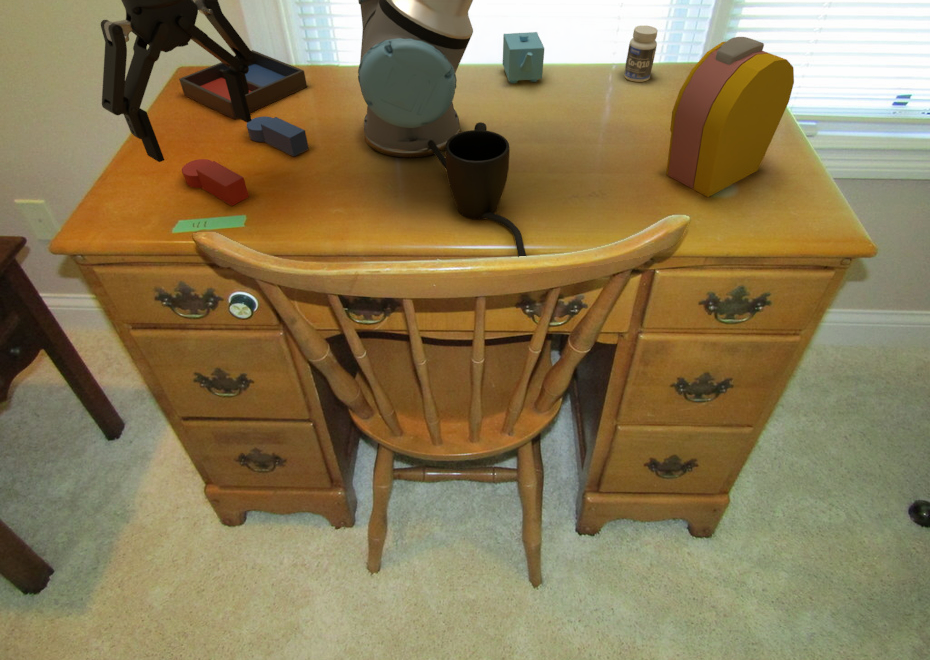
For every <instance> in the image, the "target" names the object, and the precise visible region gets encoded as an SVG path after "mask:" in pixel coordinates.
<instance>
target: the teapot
mask: <svg viewBox="0 0 930 660" xmlns="http://www.w3.org/2000/svg"><path fill="white" fill-rule="evenodd" d="M502 36H503V39H502V40H503V41H502V44H503V45H502V67H503V69H504V73H505V75H506V78H507V80H508V83H510V84H517V83H518V81H529V82H531V83H536V82H538V80H542V79H543V72H544V58H545V57H544V56H545V46H544V44H543V42H542V39H541V38H540V36H539V33H538V32H537V31H531V32H513V33H512V32H511V33H503V35H502Z"/></svg>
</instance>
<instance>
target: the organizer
mask: <svg viewBox="0 0 930 660" xmlns="http://www.w3.org/2000/svg"><path fill="white" fill-rule="evenodd" d="M251 52H252V53H253V54H254V56H255V61H254V62H253V63H249V64H248V65H247V66H248V67H249V71H248V73H247V74H245V76H246V80H247V84H248V88H249V93H248V94H246V95H245V96H246V100H247V104H248V108H249V112H250V114H251V113H253V112H255V111H257V110H260V109H262V108H264V107H266V106H269V105H270V104H272V103H274V102H277V101H279V100H281V99H284V98H286V97H288V96H290V95H292V94H295V93H296V92H299V91H301V90H303V89H306V88H308V84H307V78H306V74H305V70H304V69H301V68H299V67H296V66H293V65H291V64H290V63H289V64H288V63H287V62H283V61H281V60H279V59H276V58H275V57H271V56H269V55H265V54H264V53H261V52H259V51H257V50H254V49H252V50H251ZM226 69H229V70H230V68H229V67H228V66H226V65H225V64H224V63H222V62H221V61H220V62H219V63H216V64H213V65H211V66H208V67H206V68H203V69H200V70H198V71H195V72H194V73H190V74H188V75H185V76H183V77H180V78H178V81H179V83H180V86H181V89H182V92H183V95H184V96H185V97H188V98H189V99H191V100H193V101H196V102H197V103H199V104H202V105H204V106H205V107H208V108H210V109H212V110H214V111H217V112H218V113H219V114H222V115H224V116H226V117H227V118H228V117H229V118H230V119H232V120H237V119H238V118H237V117H235V114H234V110H233V106H232V103H231V99H230V95H229V92H228V88H227V84H226V81H225V77H224V73H223V71H224V70H226Z"/></svg>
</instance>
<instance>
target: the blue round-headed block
mask: <svg viewBox="0 0 930 660" xmlns="http://www.w3.org/2000/svg"><path fill="white" fill-rule="evenodd" d="M251 120H252V121H250V122H248V123H247V122H246V129H247V132H248V136H249V139H250V140H251V141H254V142H257V143H265V144H267V145H269V146H271V147H273V148H275V149H278V150H279V151H281V152H283V153H285V154H288V155H290V156H291V157H293V158H294V157H297V156H298V155H300V154H302V153H305V152H306V151H308V150H309V149H310V148H309V143H308V138H307V133H306V130H305V129H304V128H301V127H299V126H296V125H295V124H292V123H290V122H288V121H286V120H283V119H282V118H279V117H277V116H274V117H271V116H267V115H266V116H265V115H264V116H256V117H254V118H251Z"/></svg>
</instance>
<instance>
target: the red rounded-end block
mask: <svg viewBox="0 0 930 660" xmlns="http://www.w3.org/2000/svg"><path fill="white" fill-rule="evenodd" d="M181 173H182V175H183V178H184V181H185V184H186V185H187V186H188V187H191V188H195V189H199V188H201V189H202V190H204V191H206V192H207V193H209V194H211V195H213V196H214V197H216V198H218V199H219V200H221V201H223V202H225V203H226V204H228V205H230V206H231V207H233V206H234V205H235V206H236V204H238V203H240V202H243V201H244V200H246V199H248V198H249V197H250V194H249V191H248V187H247V184H246V181H245V178H244V176H242V175H240V174H238V172H235V171H233V170H232V169H229V168H227V167H226V166H224V165H222V164H220V163H219V162H216V161H215V160H211V159H207V158H198V159H194V160H191V161H188V162H187V163H185V164H184V165H183V166H182V168H181Z"/></svg>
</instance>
